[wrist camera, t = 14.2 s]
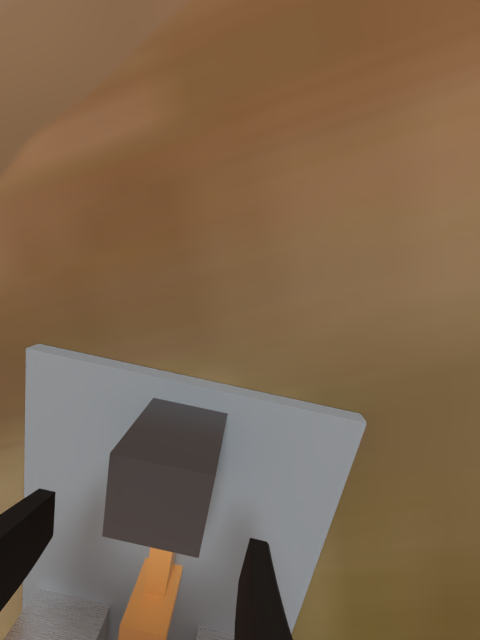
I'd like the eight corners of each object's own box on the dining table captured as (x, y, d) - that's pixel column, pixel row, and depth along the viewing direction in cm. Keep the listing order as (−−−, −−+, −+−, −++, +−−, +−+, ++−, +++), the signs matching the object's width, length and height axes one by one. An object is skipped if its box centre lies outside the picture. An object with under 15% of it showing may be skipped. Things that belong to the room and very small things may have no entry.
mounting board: (225, 801, 22) (224, 821, 21) (28, 751, 22) (20, 769, 21) (360, 413, 13) (366, 422, 13) (39, 343, 14) (26, 348, 13)
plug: (191, 592, 16) (169, 699, 12) (130, 578, 16) (89, 679, 12) (227, 413, 13) (215, 476, 9) (153, 397, 13) (109, 453, 9)
